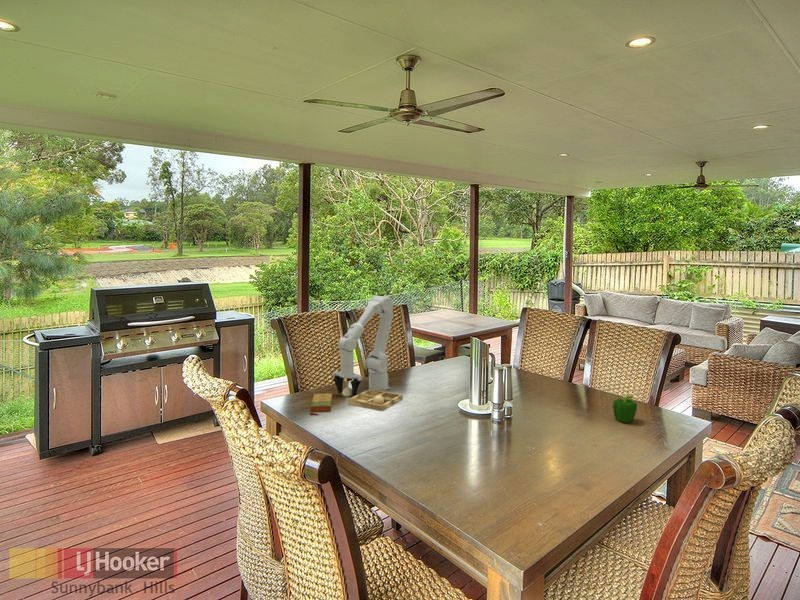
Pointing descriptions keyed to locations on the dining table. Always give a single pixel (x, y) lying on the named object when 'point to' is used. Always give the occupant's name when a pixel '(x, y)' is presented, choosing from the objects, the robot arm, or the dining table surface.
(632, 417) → the bell pepper
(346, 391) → the white egg
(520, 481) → the dining table surface
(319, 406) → the carton
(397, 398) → the egg rack
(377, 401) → the tan ball
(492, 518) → the dining table surface
